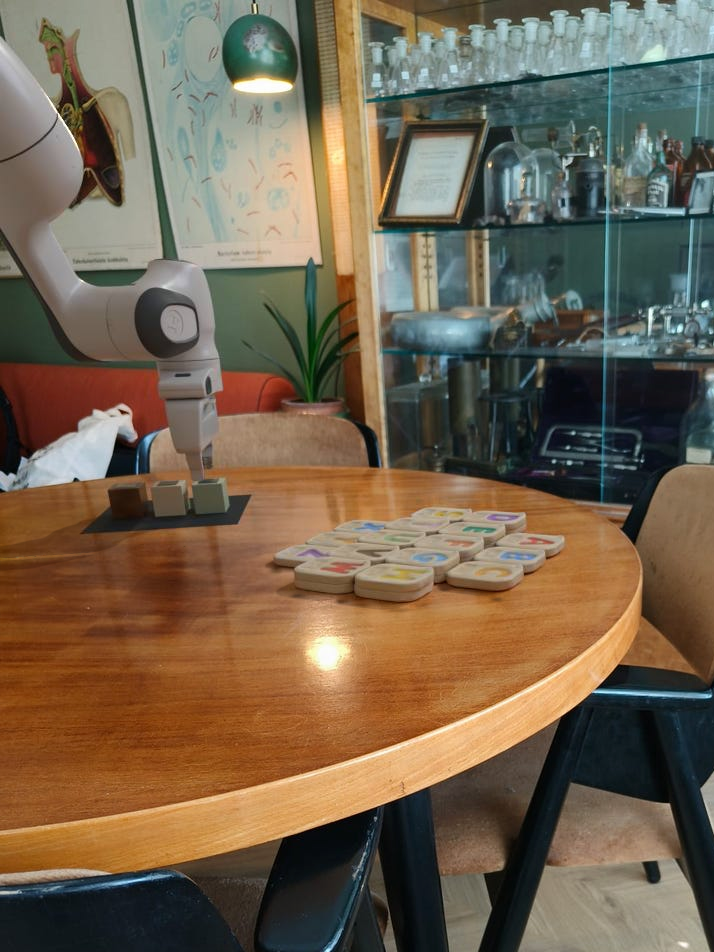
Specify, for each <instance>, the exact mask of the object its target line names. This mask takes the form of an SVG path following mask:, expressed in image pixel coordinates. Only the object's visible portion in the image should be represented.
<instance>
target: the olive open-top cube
mask: <svg viewBox="0 0 714 952" xmlns="http://www.w3.org/2000/svg"><path fill="white" fill-rule="evenodd" d="M190 486H191V493H192V498H193V500H194V506H195V513H196V514H210V513H226V511H227V509H228V508H229V506H230V505H229V498H228V496H229V492H228V485H227V477H212V478H211V477H209V478H204V480H203V481H193V483H191V485H190Z"/></svg>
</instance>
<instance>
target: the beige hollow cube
mask: <svg viewBox="0 0 714 952" xmlns="http://www.w3.org/2000/svg"><path fill="white" fill-rule="evenodd" d="M150 494H151V500H152V501H153V507H154V512H155V517H161V516H177V515H186V514H187V512H188V511H189V510H190V508H191V507H190V501H189V498H190V496H189V495H190V494H189V488H188V481H187V479H177V480H175V479H174V480H158V481H157V480H156V481H155V482H154V483H153V485H151V486H150Z"/></svg>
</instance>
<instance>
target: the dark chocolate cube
mask: <svg viewBox="0 0 714 952" xmlns="http://www.w3.org/2000/svg"><path fill="white" fill-rule="evenodd" d="M147 491H148V490H147V485H146V482H145V481H141V482H140V481H139V482H123V483H121V482H120V483H114V484H113V485H111V486H110V487H109V488H108V489H107V495H108V501H109V505H110V506H111V511H112V517H113V519H128V518H144V517H145V516H146V514H147V513H148V512H149V511H150V508H149V502H148V500H149V497H148V492H147ZM110 506H109V507H110Z"/></svg>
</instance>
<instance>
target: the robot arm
mask: <svg viewBox="0 0 714 952" xmlns="http://www.w3.org/2000/svg"><path fill="white" fill-rule="evenodd" d="M83 177H84V160H83V157H82V154H81V151H80V149H79V146H78V144H77V142H76V139H75V138H74V136H73V134H72V132H71V130H70V129H69V127H68V126H67V125H66V123H65V121H64V120H63V118H62V117H61V115H60V113H59V112H58V110H57V109H56V107H55V106H54V104H53V102H52V100H50V98H49V96H48V95H47V93H46V92H45V90H44V89H43V88H42V86H41V85H40V83H39V82H38V80H37V79H36V78H35V77H34V75H33V74H32V73H31V71H30V70H29V69H28V67H27V66H26V64H25V63H24V61H22V60H21V58H20V57H19V56H18V55H17V53H16V52H15V51H14V50H13V48H12V47H11V46H10V45H9V44H8V43H7V42H6V41H5V39H4V38H3V37H2V36H1V35H0V240H1V241H2V243H3V245H4V247H5V249H6V250H7V251H8V253H9V256H10V257H11V258H12V260H13V262H14V264H15V265H16V266H17V268H18V270H19V271H20V273H21V274H22V275H21V276H23V278H24V279H25V281H26V283H27V284H28V286H29V288H30V289H31V292H32V293H33V294H34V296H35V297H36V300H37V301H38V303H39V304H40V306H41V308H42V310H43V312H44V315H45V317H46V320H47V322H48V325H49V327H50V330H51V332H52V335H53V337H54V339H55V340H56V342H57V344H58V346H59V347H60V348H61V349H62V350H63V351H64V353H65V354H66V355H67V356H69V357H70V358H71V359H73V360H74V361H76V362H78V363H80V364H85V365H93V364H102V363H110V362H156V370H157V376H158V381H157V393H158V397H159V399H160V400H164V410H165V414H166V415H165V416H166V419H167V420H166V421H167V424H168V429H169V434H170V438H171V442H172V445H173V448H174V451H175V452H176V454H178V455H184V454H185V460H186V463H187V467H188V468H189V473H190V479H191V481H193V482H194V481H203V480H204V479H206V474H205V473H206V472H205V470H212V469H213V468H214V466H215V462H214V461H215V460H214V439H215V438H216V437H217V436H218V435H219V433H220V423H219V416H218V410H217V399H216V393H220V392H223V391H224V385H223V377H222V369H221V360H220V355H219V352H218V349H217V346H216V343H215V333H216V320H215V311H214V306H213V299H212V294H211V290H210V287H209V283H208V280H207V276H206V274H205V272H204V270H203V268H202V267H201V266H199V265H197V264H196V263H194V262H192V261H190V260H185V259H176V258H165V257H163V258H154V259H152V260H150V261H148V262H147V266H146V271H145V273H144V274H143V275H142V276H141V277H140V278H139V279H137V280H136V281H133V282H131V283H130V285H119V286H118V285H117V286H112V285H111V286H98V285H93V284H91V283H88V282H87V281H84V280H83V279H81V278H80V277H79V276H78V275H77V274H76V272H75V270H74V269H73V266H72V265H71V262H70V261H69V260H68V258H67V256H66V254H65V252H64V250H63V248H62V246H61V245H60V242H59V241H58V239H57V238H56V236H55V234H54V231H53V230H52V227H51V223H52V222H54V220H56V219H57V218H59V217H60V216H61V215H62V214H63V213H64V212H65V211H66V210H67V209H68V208H69V207H70V206H71V204H72V203H73V201H74V200H75V198H76V197H77V196H78V193H80V189H81V187H82V183H83Z"/></svg>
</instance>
